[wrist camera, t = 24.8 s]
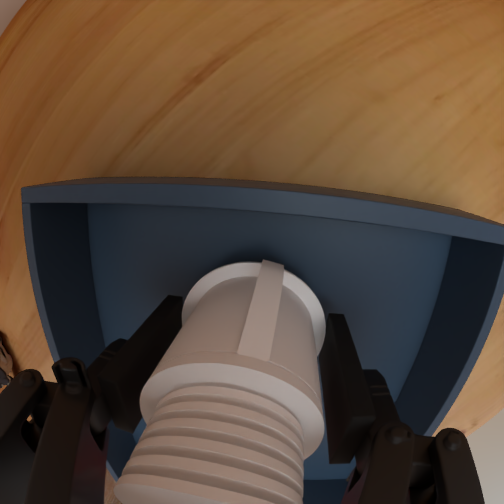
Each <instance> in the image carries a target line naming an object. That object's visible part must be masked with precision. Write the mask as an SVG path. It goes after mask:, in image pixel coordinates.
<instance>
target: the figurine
mask: <svg viewBox="0 0 504 504" xmlns="http://www.w3.org/2000/svg"><path fill="white" fill-rule="evenodd" d="M1 343H2V338H1V337H0V388H2V387H3V385H8V384H9V383H10V382H11V381H12V380H13V378H12V377H11V376H9V375H8V374H9V373H10V372H11V369H12V365H13V364H12V358H11V355H8V354H7V352H6V350H5V349H4V347H3V345H2V344H1Z"/></svg>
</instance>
